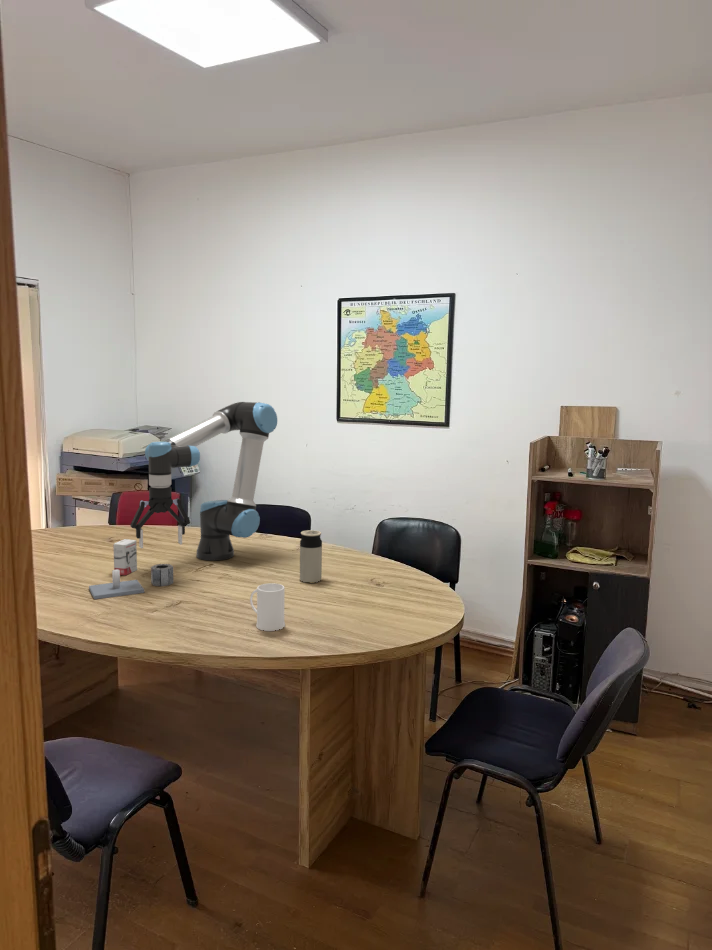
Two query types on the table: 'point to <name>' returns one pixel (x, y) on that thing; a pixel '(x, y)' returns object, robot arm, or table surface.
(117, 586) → the shaft stand
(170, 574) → the cylinder
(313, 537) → the travel mug
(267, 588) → the mug
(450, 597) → the table surface
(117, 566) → the ink box
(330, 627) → the table surface
